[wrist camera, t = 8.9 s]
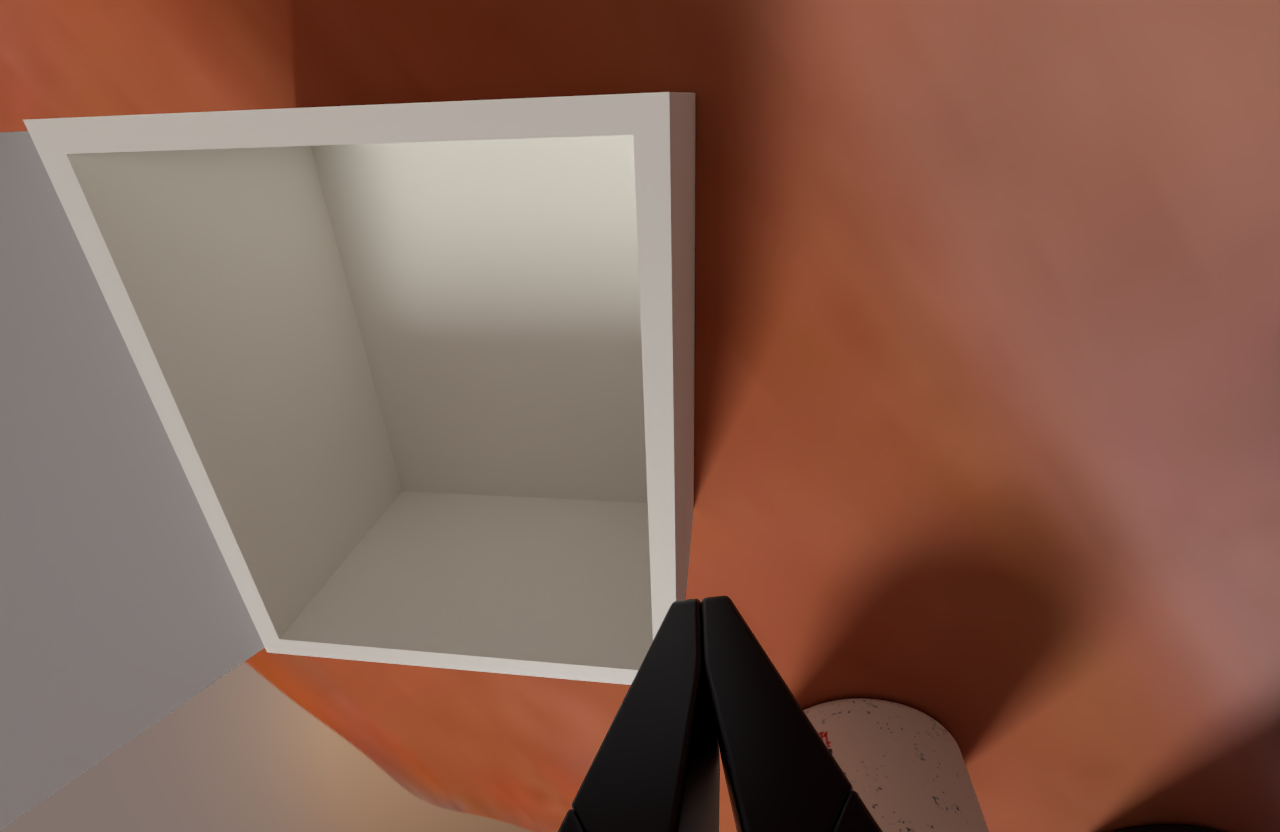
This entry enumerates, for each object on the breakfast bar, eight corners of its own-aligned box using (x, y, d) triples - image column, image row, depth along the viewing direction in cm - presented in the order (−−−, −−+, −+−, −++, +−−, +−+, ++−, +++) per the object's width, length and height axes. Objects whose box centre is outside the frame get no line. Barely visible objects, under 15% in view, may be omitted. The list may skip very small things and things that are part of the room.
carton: (695, 92, 17) (669, 91, 10) (693, 508, 23) (677, 688, 16) (295, 109, 18) (22, 119, 11) (398, 494, 25) (267, 652, 18)
